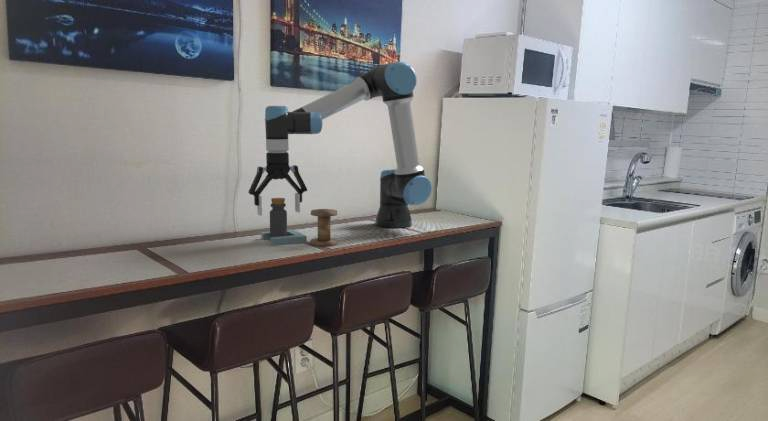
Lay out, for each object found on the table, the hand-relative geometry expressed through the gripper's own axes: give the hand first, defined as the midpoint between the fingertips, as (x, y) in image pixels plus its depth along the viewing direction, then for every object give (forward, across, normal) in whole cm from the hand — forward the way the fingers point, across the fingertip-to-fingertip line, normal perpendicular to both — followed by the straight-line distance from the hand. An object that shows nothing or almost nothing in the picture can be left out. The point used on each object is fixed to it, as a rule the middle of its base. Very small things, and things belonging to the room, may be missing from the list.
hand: (279, 213), depth 188 cm
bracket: (+10, -1, 0) cm, 10 cm away
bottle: (+10, 0, 0) cm, 10 cm away
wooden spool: (+10, -12, +10) cm, 19 cm away
